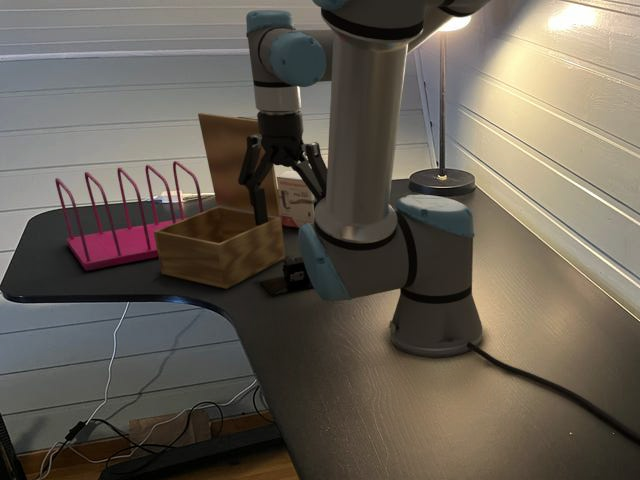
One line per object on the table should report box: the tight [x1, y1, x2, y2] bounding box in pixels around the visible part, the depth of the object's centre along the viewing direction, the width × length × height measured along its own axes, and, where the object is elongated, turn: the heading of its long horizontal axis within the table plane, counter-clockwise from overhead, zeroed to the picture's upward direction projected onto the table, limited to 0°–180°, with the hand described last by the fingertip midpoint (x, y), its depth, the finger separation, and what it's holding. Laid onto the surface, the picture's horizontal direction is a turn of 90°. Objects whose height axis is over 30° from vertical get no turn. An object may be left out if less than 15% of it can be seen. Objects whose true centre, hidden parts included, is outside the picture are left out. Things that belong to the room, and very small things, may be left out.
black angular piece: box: [260, 256, 314, 297], centre depth 139 cm, size 12×7×5 cm, turn 123°
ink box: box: [276, 170, 317, 229], centre depth 166 cm, size 9×5×12 cm, turn 73°
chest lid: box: [197, 112, 282, 217], centre depth 146 cm, size 18×16×7 cm
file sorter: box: [54, 160, 204, 272], centre depth 151 cm, size 17×25×16 cm
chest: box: [153, 205, 286, 290], centre depth 145 cm, size 18×16×9 cm
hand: (291, 229), depth 135 cm, fingers open, 13 cm apart
